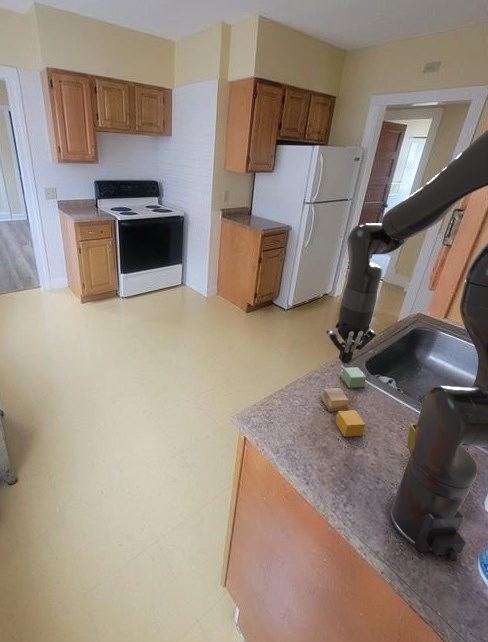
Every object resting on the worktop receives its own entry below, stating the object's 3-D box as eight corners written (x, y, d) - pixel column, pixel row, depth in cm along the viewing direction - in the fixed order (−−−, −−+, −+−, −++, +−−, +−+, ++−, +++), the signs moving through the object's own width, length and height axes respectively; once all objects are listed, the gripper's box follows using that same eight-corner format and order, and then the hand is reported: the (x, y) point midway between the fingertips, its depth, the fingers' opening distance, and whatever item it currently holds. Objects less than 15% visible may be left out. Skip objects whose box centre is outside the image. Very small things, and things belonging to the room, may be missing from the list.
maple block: (345, 410, 93) (348, 399, 92) (329, 411, 93) (331, 400, 91) (337, 398, 98) (340, 388, 96) (321, 399, 97) (324, 388, 96)
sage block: (363, 387, 103) (366, 376, 101) (348, 387, 102) (351, 377, 101) (355, 377, 108) (357, 367, 106) (341, 377, 107) (343, 367, 106)
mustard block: (362, 435, 85) (365, 424, 83) (344, 436, 84) (347, 425, 83) (352, 421, 90) (355, 410, 88) (335, 422, 89) (338, 411, 88)
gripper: (340, 311, 75) (327, 371, 82) (392, 310, 77) (375, 369, 84) (325, 298, 82) (314, 354, 89) (373, 296, 84) (359, 352, 90)
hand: (344, 361), depth 86 cm, fingers closed
